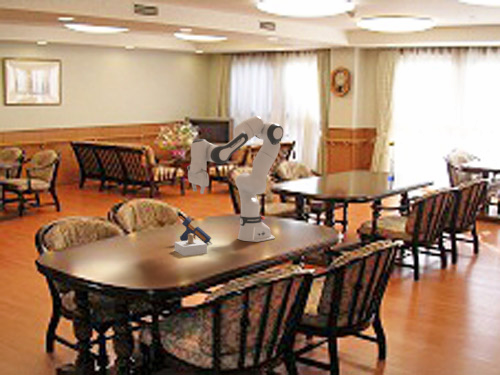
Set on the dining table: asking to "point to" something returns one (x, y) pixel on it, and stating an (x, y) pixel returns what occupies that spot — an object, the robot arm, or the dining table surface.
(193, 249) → the hole block
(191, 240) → the peg
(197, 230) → the glue gun
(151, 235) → the dining table surface
